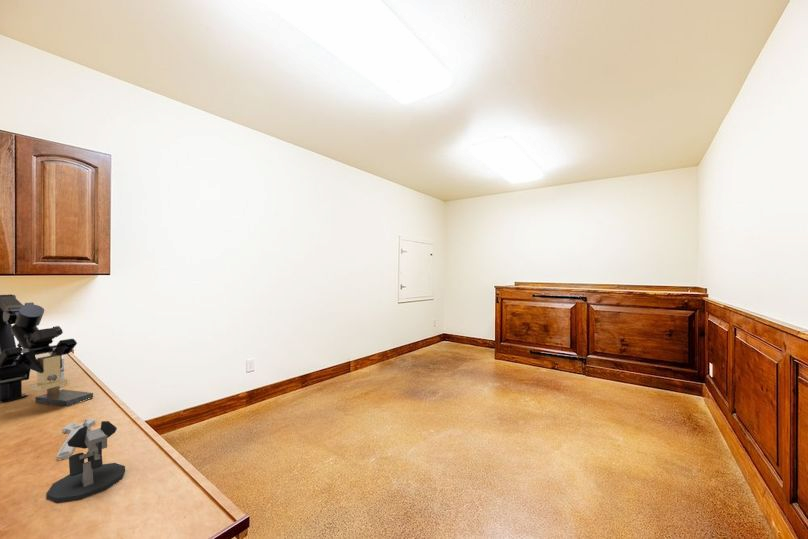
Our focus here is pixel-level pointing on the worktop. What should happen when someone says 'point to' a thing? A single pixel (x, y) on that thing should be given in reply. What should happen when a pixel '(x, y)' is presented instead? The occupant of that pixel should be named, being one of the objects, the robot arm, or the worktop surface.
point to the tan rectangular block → (48, 373)
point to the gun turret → (87, 466)
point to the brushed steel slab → (62, 397)
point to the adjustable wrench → (71, 429)
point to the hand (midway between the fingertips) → (51, 370)
